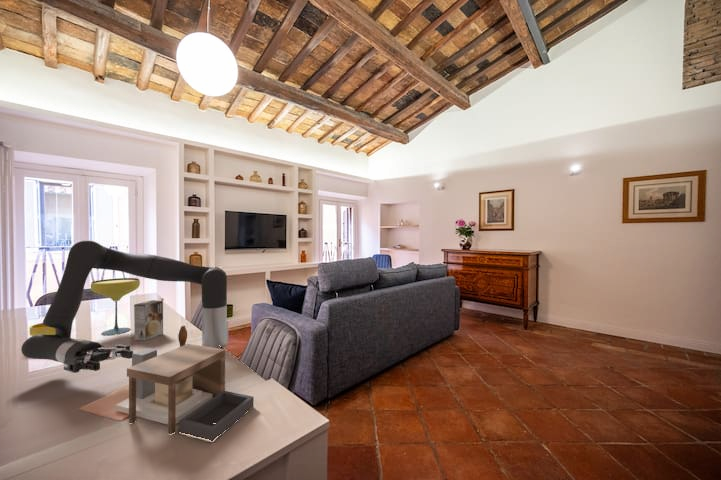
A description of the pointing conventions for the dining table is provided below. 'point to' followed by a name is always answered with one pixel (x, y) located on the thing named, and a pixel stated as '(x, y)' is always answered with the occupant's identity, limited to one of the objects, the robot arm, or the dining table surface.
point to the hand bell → (182, 336)
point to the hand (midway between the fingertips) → (115, 360)
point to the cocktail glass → (115, 295)
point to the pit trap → (216, 415)
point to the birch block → (181, 391)
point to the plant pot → (41, 330)
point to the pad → (109, 405)
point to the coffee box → (148, 319)
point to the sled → (147, 396)
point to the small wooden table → (180, 374)
